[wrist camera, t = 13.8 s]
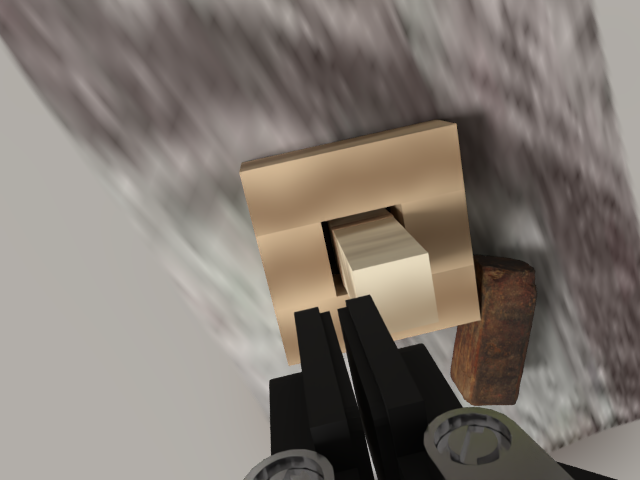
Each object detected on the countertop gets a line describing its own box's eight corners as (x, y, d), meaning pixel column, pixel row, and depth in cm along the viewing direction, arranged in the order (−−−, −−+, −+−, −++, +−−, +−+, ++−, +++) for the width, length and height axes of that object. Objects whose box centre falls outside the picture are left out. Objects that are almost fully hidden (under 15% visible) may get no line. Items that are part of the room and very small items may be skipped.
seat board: (241, 162, 37) (239, 172, 33) (436, 119, 37) (456, 123, 33) (286, 339, 41) (288, 365, 37) (460, 298, 41) (480, 320, 38)
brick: (493, 375, 44) (519, 407, 40) (447, 374, 44) (468, 407, 39) (515, 254, 41) (546, 274, 37) (466, 252, 41) (491, 272, 36)
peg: (324, 213, 38) (351, 270, 27) (379, 201, 39) (428, 251, 27) (335, 265, 40) (365, 340, 28) (388, 252, 40) (439, 322, 28)
